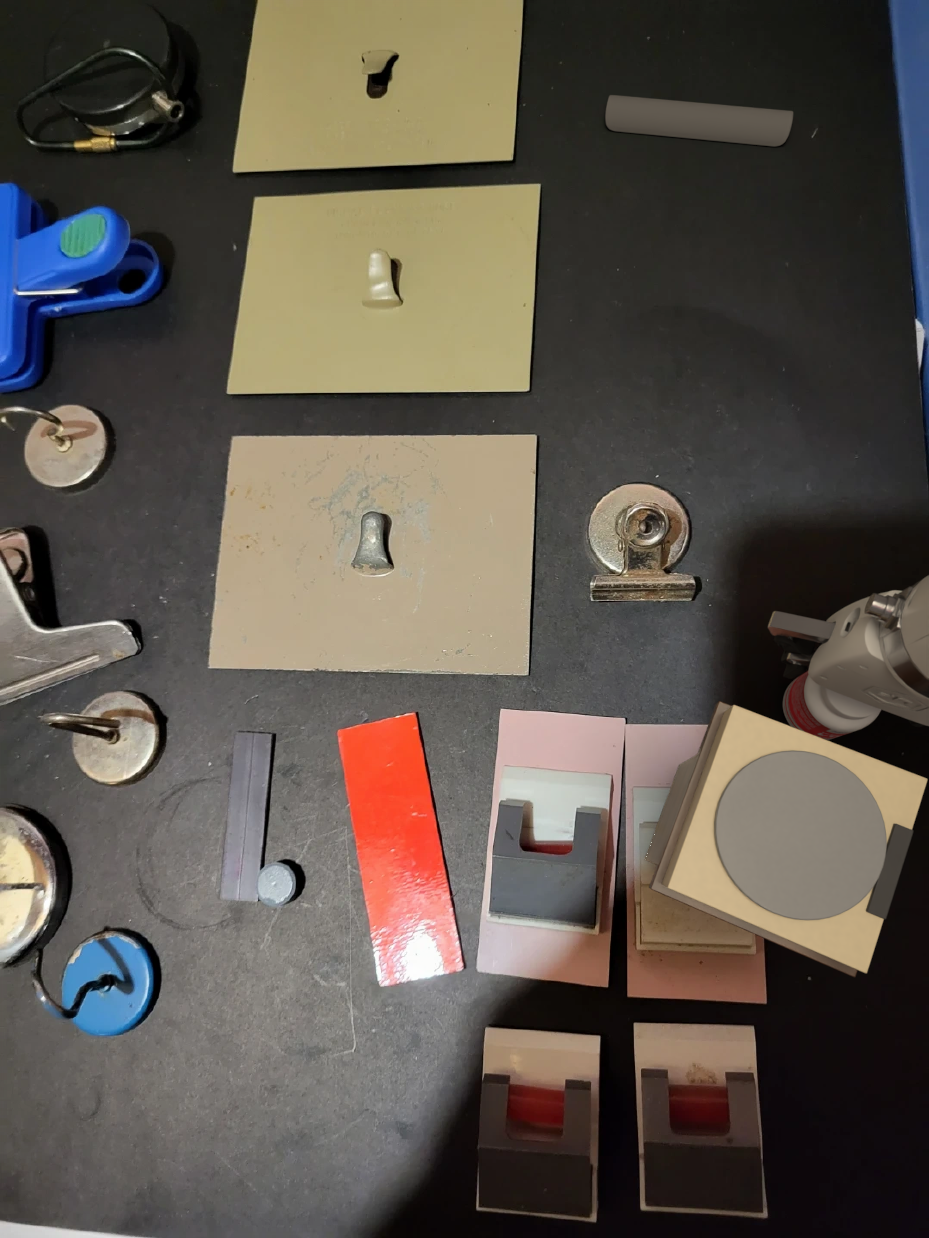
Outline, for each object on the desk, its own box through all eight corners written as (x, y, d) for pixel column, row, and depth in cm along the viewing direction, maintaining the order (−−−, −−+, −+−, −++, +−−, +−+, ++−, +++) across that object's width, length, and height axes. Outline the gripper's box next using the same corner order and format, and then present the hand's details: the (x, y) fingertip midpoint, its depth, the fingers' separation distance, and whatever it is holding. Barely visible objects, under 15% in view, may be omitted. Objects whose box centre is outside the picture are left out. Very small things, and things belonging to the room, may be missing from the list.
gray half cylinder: (609, 99, 96) (610, 85, 94) (791, 115, 93) (795, 102, 91) (602, 131, 95) (603, 118, 93) (785, 148, 92) (790, 135, 90)
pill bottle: (803, 752, 77) (841, 740, 67) (768, 691, 79) (800, 670, 68) (865, 722, 77) (913, 705, 67) (829, 662, 79) (870, 636, 68)
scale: (907, 781, 51) (932, 778, 47) (849, 965, 49) (870, 975, 45) (724, 711, 53) (735, 702, 49) (661, 884, 51) (668, 888, 47)
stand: (799, 794, 77) (918, 776, 51) (754, 925, 75) (855, 977, 49) (668, 742, 79) (719, 700, 53) (622, 868, 77) (650, 888, 51)
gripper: (787, 641, 51) (729, 686, 67) (1095, 755, 48) (955, 772, 64) (827, 528, 52) (760, 599, 69) (1130, 632, 49) (983, 680, 66)
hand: (854, 683), depth 67 cm, fingers open, 9 cm apart
